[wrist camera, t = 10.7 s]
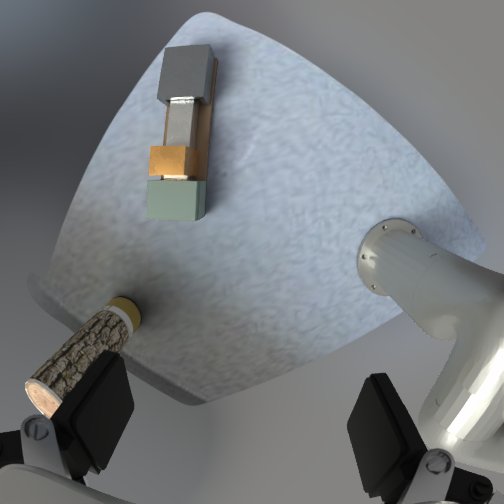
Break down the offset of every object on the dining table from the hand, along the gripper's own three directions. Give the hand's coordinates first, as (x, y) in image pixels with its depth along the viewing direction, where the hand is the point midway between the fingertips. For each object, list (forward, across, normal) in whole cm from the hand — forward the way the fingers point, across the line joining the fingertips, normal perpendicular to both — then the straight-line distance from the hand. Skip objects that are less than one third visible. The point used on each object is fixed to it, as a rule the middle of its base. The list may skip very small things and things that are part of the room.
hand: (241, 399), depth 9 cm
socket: (+31, +11, -4) cm, 33 cm away
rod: (+31, +11, -11) cm, 35 cm away
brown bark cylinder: (+32, +22, +16) cm, 42 cm away
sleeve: (+31, +11, -22) cm, 40 cm away
